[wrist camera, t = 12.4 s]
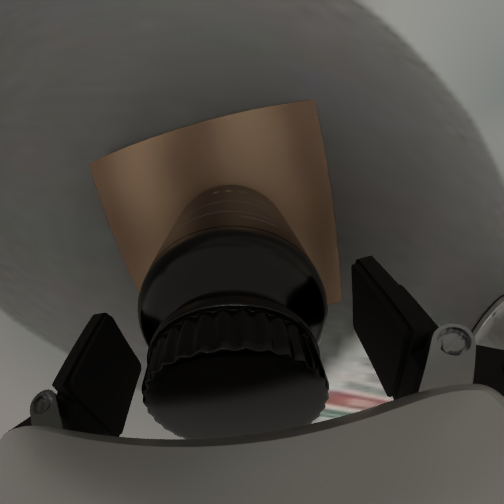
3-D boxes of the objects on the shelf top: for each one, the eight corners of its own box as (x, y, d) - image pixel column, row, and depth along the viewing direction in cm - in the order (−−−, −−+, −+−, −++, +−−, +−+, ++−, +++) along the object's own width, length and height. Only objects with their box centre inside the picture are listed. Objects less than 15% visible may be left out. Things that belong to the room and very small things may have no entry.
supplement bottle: (285, 282, 18) (337, 448, 8) (184, 287, 18) (148, 456, 7) (287, 179, 16) (401, 292, 5) (170, 186, 15) (54, 309, 4)
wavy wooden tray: (302, 104, 16) (314, 99, 14) (329, 280, 22) (341, 301, 20) (108, 157, 17) (88, 163, 14) (169, 316, 23) (162, 339, 20)
